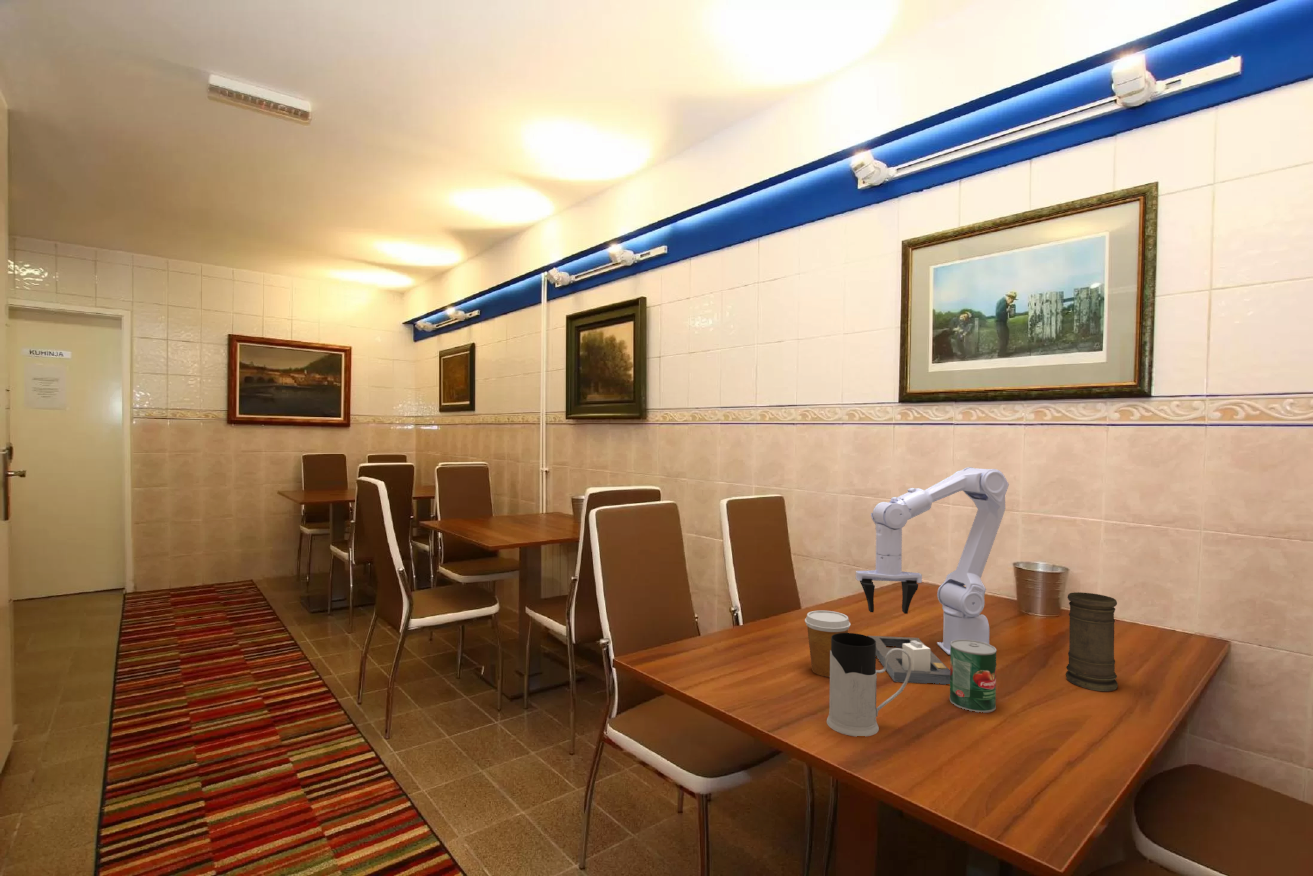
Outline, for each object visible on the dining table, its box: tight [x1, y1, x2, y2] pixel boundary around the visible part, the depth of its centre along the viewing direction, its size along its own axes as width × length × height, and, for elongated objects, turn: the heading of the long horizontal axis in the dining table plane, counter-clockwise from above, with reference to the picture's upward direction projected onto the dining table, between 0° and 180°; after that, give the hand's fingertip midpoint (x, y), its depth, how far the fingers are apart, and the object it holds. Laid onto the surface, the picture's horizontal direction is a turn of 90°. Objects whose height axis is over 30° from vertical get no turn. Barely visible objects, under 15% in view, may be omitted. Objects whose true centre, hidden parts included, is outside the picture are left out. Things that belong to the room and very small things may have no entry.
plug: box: [901, 640, 932, 671], centre depth 133 cm, size 4×4×7 cm
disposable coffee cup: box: [804, 610, 851, 678], centre depth 134 cm, size 10×10×12 cm
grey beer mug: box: [826, 632, 911, 737], centre depth 109 cm, size 9×14×15 cm, turn 84°
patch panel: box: [868, 635, 950, 685], centre depth 140 cm, size 12×24×2 cm, turn 174°
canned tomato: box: [949, 640, 997, 714], centre depth 118 cm, size 8×8×11 cm
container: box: [1065, 591, 1119, 692], centre depth 129 cm, size 9×9×18 cm
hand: (887, 612), depth 145 cm, fingers open, 7 cm apart
